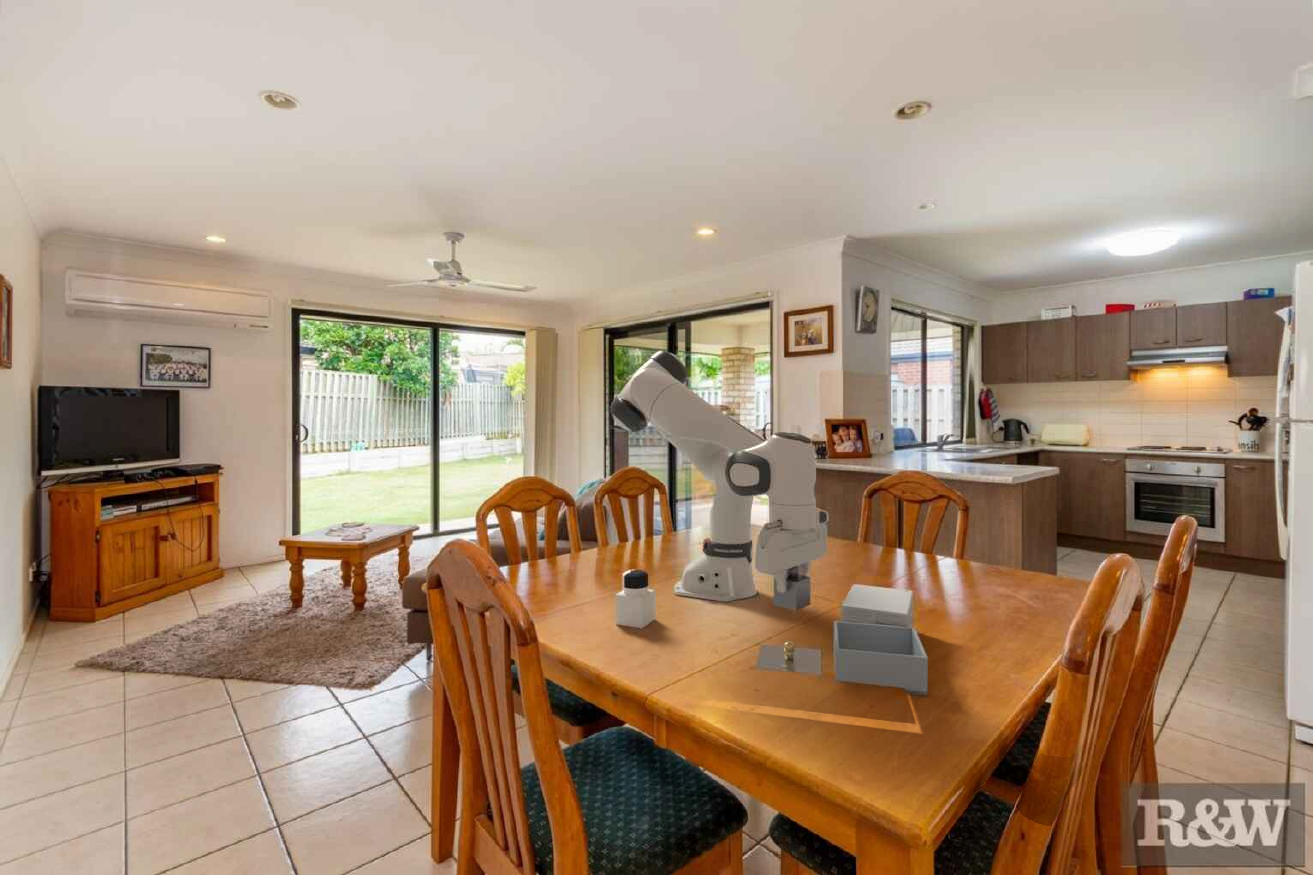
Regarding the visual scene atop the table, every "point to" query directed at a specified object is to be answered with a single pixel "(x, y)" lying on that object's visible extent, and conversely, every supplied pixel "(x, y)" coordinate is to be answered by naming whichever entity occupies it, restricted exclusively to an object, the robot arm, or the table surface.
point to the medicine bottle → (635, 600)
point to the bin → (880, 656)
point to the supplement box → (878, 606)
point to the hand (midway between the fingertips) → (792, 587)
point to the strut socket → (793, 591)
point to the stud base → (796, 666)
